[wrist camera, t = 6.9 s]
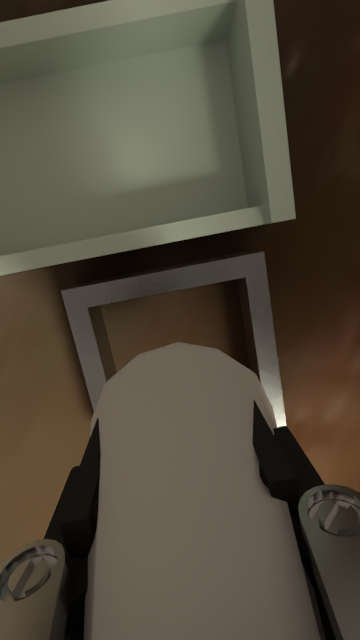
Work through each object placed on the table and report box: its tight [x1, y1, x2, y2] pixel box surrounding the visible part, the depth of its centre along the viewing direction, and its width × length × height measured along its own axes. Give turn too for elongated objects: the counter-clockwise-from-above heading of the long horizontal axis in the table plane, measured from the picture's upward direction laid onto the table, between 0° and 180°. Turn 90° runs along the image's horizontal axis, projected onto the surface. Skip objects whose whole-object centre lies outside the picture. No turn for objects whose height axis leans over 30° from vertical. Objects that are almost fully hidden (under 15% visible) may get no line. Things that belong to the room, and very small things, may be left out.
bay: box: [0, 0, 296, 275], centre depth 15 cm, size 23×9×4 cm, turn 101°
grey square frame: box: [61, 250, 286, 427], centre depth 18 cm, size 10×10×2 cm
